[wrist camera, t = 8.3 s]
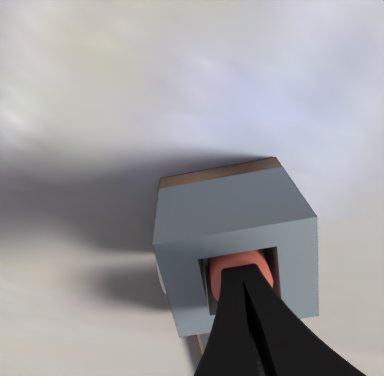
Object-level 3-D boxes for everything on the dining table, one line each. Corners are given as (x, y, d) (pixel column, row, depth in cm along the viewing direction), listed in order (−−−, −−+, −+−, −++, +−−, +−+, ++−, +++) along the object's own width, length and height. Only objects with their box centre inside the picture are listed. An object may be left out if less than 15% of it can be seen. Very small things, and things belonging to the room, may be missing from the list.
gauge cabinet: (282, 166, 16) (317, 216, 12) (287, 249, 18) (318, 315, 14) (152, 189, 16) (144, 246, 12) (174, 268, 18) (172, 338, 14)
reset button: (254, 214, 15) (270, 256, 12) (259, 256, 16) (275, 303, 13) (201, 223, 15) (206, 267, 12) (210, 264, 16) (216, 313, 14)
